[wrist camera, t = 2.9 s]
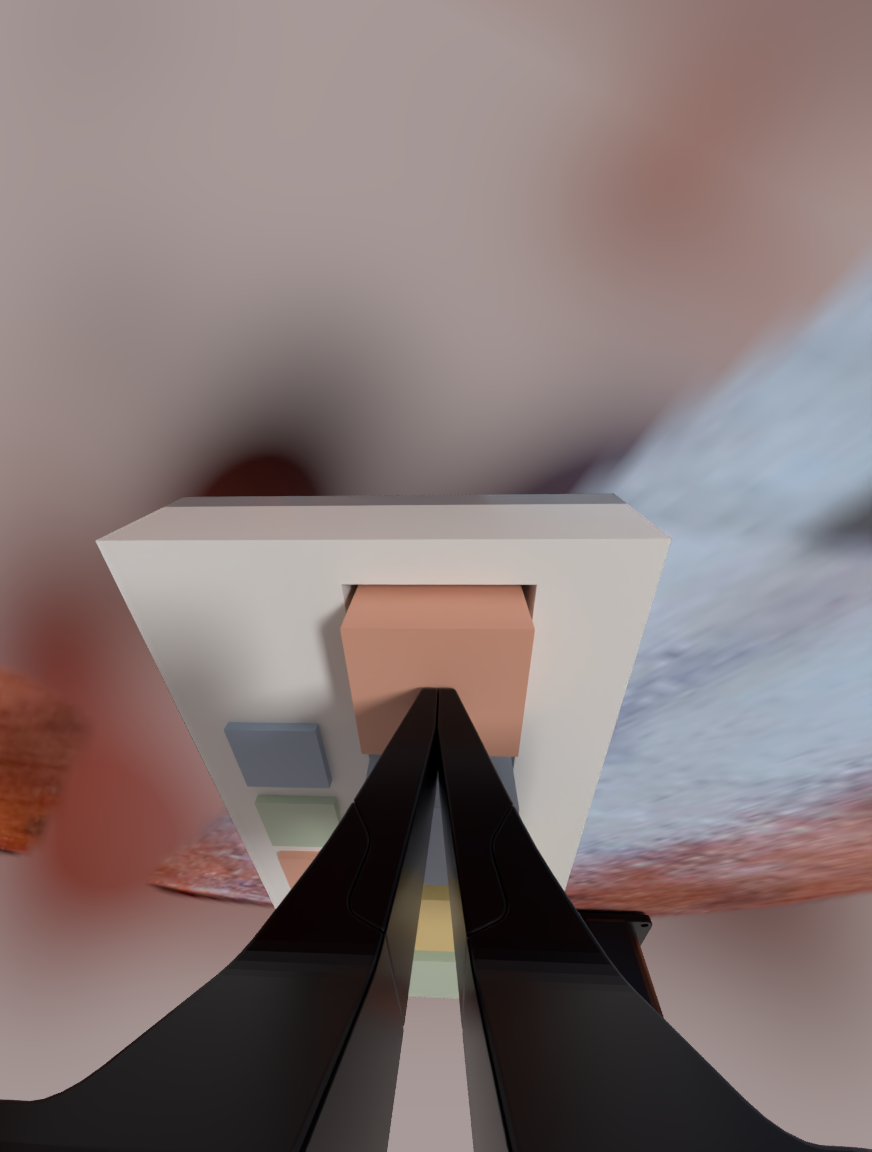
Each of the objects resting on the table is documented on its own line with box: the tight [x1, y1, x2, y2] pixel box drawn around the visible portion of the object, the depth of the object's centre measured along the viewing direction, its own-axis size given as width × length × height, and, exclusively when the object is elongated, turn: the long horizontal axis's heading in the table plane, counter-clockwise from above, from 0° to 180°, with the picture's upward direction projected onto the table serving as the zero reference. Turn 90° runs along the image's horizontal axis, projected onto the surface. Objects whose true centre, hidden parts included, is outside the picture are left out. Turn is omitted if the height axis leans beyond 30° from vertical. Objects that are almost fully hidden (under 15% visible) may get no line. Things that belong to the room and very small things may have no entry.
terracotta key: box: [340, 584, 535, 757], centre depth 11 cm, size 4×4×4 cm
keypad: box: [96, 494, 672, 909], centre depth 16 cm, size 24×14×4 cm, turn 1°
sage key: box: [408, 950, 459, 999], centre depth 18 cm, size 4×4×4 cm
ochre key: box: [415, 885, 455, 952], centre depth 16 cm, size 4×4×4 cm
